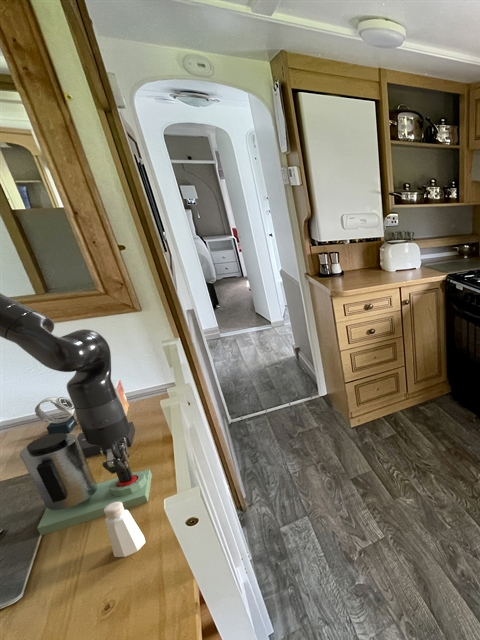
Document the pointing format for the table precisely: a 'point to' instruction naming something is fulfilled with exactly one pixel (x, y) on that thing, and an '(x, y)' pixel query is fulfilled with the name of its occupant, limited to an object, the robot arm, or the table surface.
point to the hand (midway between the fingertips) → (126, 480)
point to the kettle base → (98, 503)
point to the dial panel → (95, 449)
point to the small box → (121, 394)
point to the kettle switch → (127, 482)
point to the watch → (61, 423)
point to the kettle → (59, 470)
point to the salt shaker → (122, 530)
